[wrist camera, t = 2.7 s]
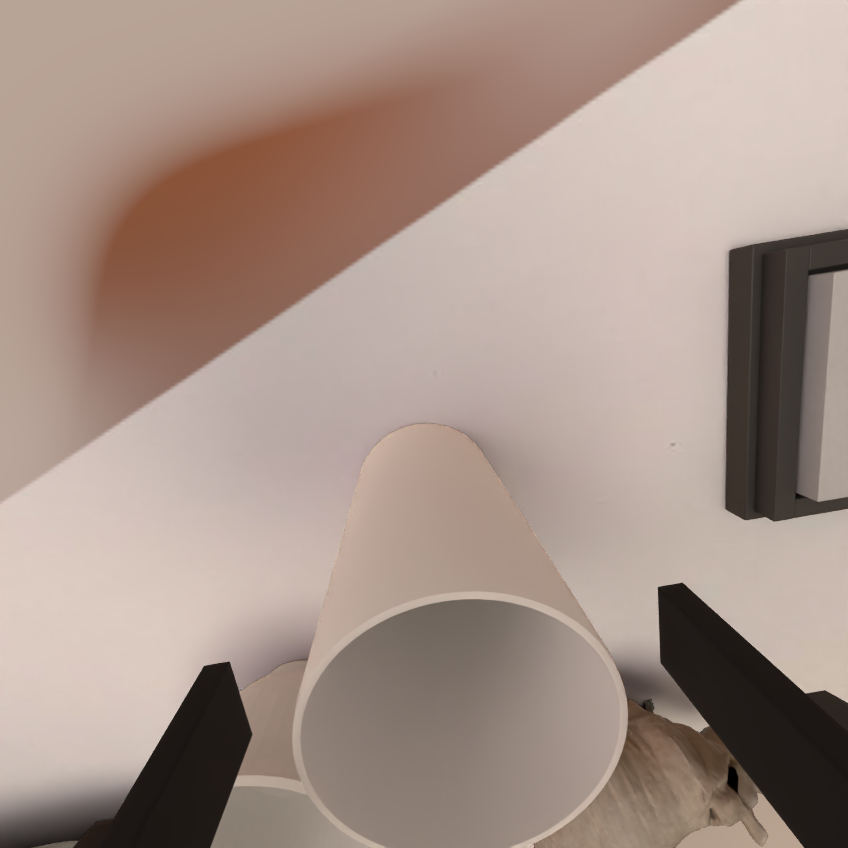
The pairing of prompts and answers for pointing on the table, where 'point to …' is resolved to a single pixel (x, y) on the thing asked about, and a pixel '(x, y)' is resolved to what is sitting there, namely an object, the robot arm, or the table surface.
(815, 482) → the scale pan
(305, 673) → the cup
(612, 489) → the table surface
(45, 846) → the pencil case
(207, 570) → the table surface
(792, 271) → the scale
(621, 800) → the rhinoceros figurine
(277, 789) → the teacup
